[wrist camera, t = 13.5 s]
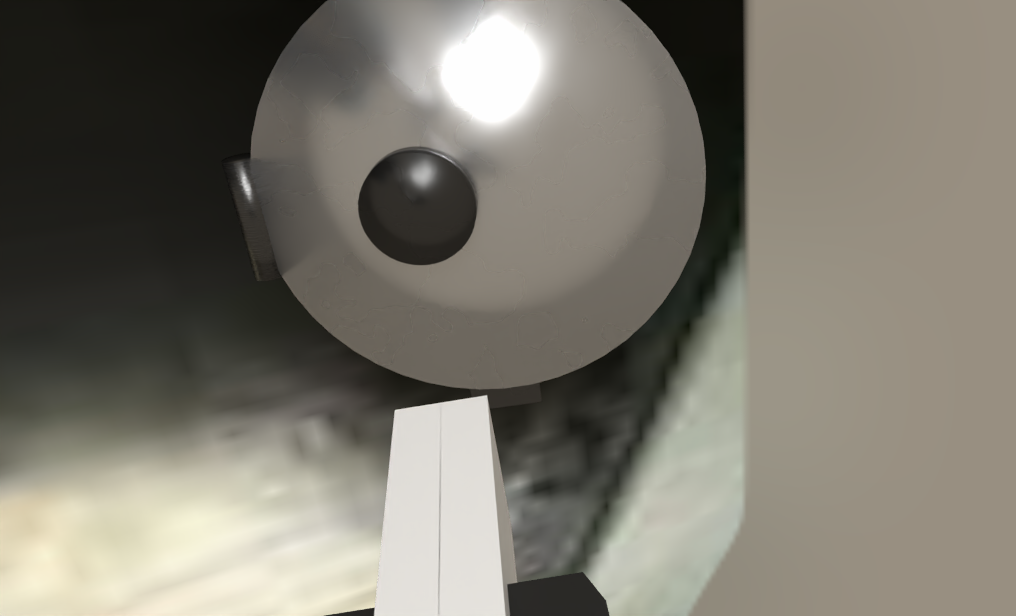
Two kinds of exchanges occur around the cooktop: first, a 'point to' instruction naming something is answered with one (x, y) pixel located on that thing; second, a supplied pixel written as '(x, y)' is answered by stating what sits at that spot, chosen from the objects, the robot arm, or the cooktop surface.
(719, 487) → the cooktop surface
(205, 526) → the cooktop surface
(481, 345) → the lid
